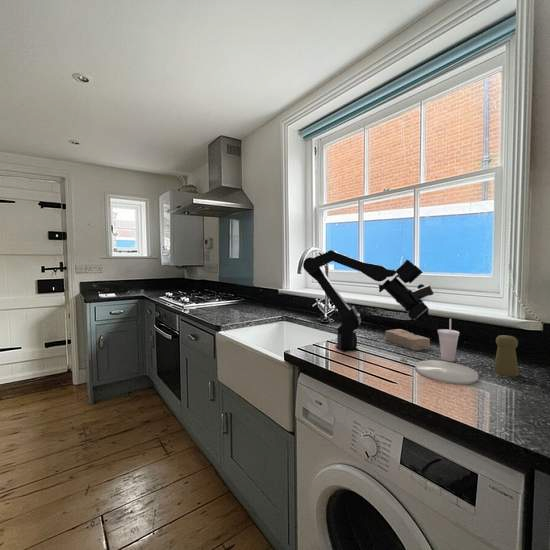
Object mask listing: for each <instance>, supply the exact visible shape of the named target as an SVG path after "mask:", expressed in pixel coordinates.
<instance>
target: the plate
mask: <svg viewBox="0 0 550 550" xmlns="http://www.w3.org/2000/svg"><path fill="white" fill-rule="evenodd" d="M414 367H415V368H414V369H415V372H417V374H419V375H420V376H422V377H424V378H427V379H430V380H433V381H436V382H440V383H446V384H453V385H471V384H475V383H477V382H478V380H479V373H478V372H477V371H476V370H475V369H472V368H471V367H469V366H466V365H463V364H460V363H456V362H452V361H445V360H432V359H431V360H429V359H427V360H420V361H418V362H416V363H415V366H414Z"/></svg>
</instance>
